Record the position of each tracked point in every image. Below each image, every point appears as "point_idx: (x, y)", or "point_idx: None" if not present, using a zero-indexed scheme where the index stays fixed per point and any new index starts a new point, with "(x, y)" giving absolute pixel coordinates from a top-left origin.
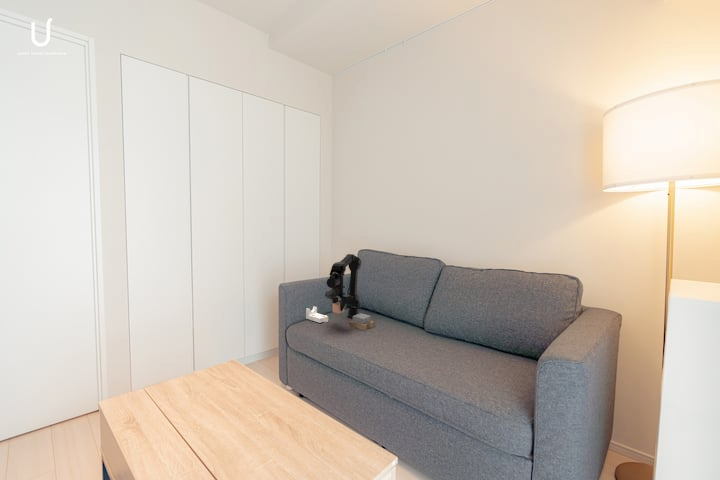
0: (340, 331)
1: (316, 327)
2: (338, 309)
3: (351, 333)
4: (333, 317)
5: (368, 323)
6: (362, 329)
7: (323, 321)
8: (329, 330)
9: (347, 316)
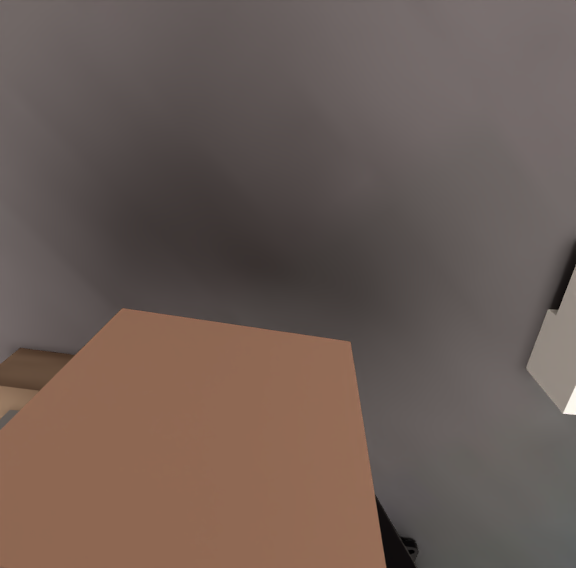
0: (162, 185)
1: (547, 87)
2: (53, 393)
3: (22, 215)
4: (532, 476)
5: None
6: (16, 356)
7: (562, 306)
8: (298, 118)
9: (408, 543)
